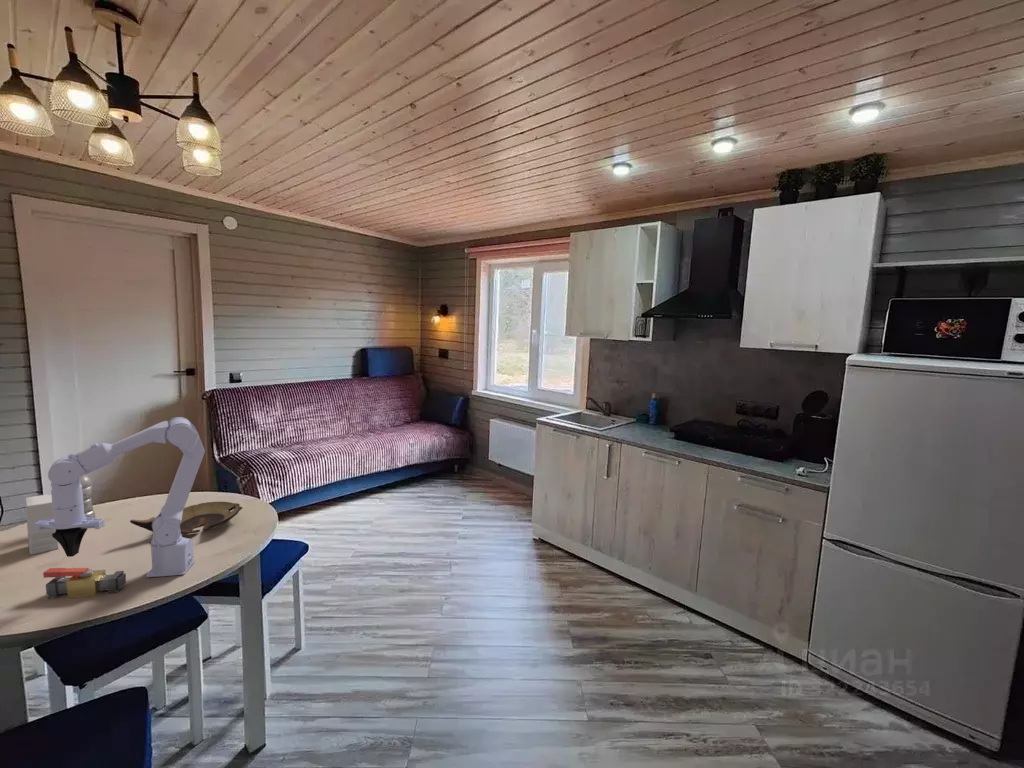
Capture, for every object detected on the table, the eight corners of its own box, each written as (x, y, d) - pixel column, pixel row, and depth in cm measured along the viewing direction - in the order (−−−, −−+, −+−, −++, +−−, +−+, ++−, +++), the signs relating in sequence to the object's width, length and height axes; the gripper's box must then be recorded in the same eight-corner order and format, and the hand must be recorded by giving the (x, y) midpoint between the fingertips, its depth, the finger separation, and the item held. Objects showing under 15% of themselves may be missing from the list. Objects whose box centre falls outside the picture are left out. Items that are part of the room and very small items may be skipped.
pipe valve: (128, 583, 127) (127, 567, 126) (118, 593, 122) (117, 576, 122) (56, 589, 123) (55, 572, 122) (43, 599, 118) (42, 582, 117)
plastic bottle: (98, 524, 159) (95, 468, 156) (72, 531, 153) (68, 473, 151) (92, 519, 162) (88, 464, 160) (66, 525, 157) (61, 468, 154)
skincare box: (28, 545, 143) (24, 497, 141) (58, 539, 148) (54, 492, 146) (29, 556, 137) (25, 505, 135) (60, 548, 142) (56, 500, 140)
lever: (94, 572, 123) (94, 566, 123) (88, 576, 121) (87, 571, 121) (50, 573, 121) (50, 567, 121) (43, 578, 119) (42, 572, 119)
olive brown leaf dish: (237, 536, 156) (236, 515, 155) (125, 549, 144) (124, 526, 143) (245, 510, 176) (245, 491, 175) (148, 520, 164) (147, 499, 163)
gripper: (110, 498, 124) (114, 546, 126) (48, 499, 122) (53, 547, 124) (91, 509, 117) (95, 559, 119) (25, 510, 115) (30, 561, 117)
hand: (72, 554), depth 121 cm, fingers closed
